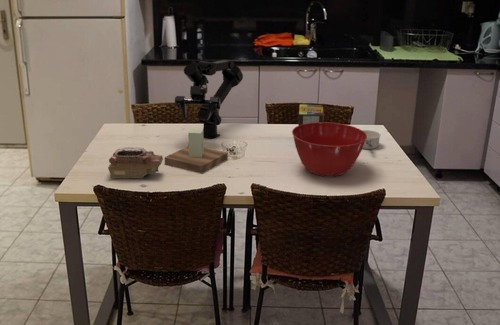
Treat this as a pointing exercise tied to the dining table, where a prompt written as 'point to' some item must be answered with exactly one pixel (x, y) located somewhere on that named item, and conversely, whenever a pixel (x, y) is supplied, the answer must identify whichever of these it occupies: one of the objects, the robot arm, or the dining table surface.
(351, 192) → the dining table surface
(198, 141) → the sage block
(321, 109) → the protein box
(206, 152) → the walnut base
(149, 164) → the decorative box
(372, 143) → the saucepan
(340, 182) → the dining table surface
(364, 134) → the mixing bowl
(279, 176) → the dining table surface
